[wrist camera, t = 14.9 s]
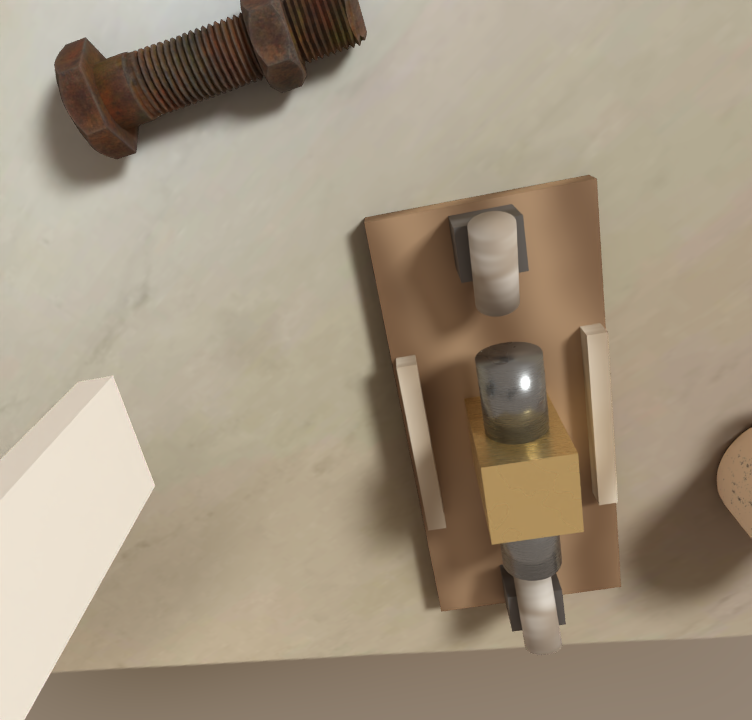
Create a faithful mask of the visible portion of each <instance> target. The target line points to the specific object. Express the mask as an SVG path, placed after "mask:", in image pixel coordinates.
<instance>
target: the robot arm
mask: <svg viewBox="0 0 752 720" xmlns="http://www.w3.org/2000/svg"><path fill="white" fill-rule="evenodd" d="M154 487H155V484H154V482H153V479H152V476H151V474H150V471H149V469H148V466H147V463H146V461H145V458H144V455H143V453H142V450H141V448H140V445H139V442H138V440H137V437H136V435H135V432H134V429H133V427H132V424H131V421H130V419H129V416H128V414H127V411H126V408H125V406H124V403H123V400H122V398H121V395H120V393H119V390H118V387H117V385H116V382H115V380H114V377H113V376H108V377H102V378H96V379H91V380H85V381H79V382H77V383H76V384H75V385H74V386H73V387H72V388H71V389H70V390H69V391H68V392H67V393H66V394H65V395H64V396H63V397H62V398H61V399H60V400H59V401H58V402H57V403H56V404H55V405H54V406H53V407H52V408H51V409H50V410H49V411H48V412H47V413H46V414H45V415H44V416H43V417H42V418H41V419H40V420H39V421H38V422H37V423H36V424H35V425H34V426H33V427H32V428H31V429H30V430H29V431H28V432H27V433H26V434H25V435H24V436H23V437H22V438H21V439H20V440H19V441H18V442H17V443H16V444H15V445H14V446H13V447H12V448H11V449H10V450H9V451H8V452H7V453H6V455H5V456H4V457H3V458H2V459H1V460H0V720H25V718H26V716H27V714H28V713H29V711H30V709H31V707H32V705H33V704H34V702H35V700H36V698H37V697H38V695H39V693H40V691H41V689H42V687H43V686H44V684H45V682H46V680H47V679H48V677H49V675H50V673H51V671H52V670H53V668H54V666H55V664H56V662H57V661H58V659H59V657H60V655H61V654H62V652H63V650H64V648H65V646H66V645H67V643H68V641H69V639H70V637H71V636H72V634H73V632H74V630H75V628H76V627H77V625H78V623H79V621H80V619H81V618H82V616H83V614H84V612H85V610H86V609H87V607H88V605H89V603H90V602H91V600H92V598H93V596H94V594H95V593H96V591H97V589H98V587H99V585H100V584H101V582H102V580H103V578H104V576H105V575H106V573H107V571H108V569H109V567H110V566H111V564H112V562H113V560H114V559H115V557H116V555H117V553H118V551H119V550H120V548H121V546H122V544H123V542H124V541H125V539H126V537H127V535H128V533H129V532H130V530H131V528H132V526H133V524H134V523H135V521H136V519H137V517H138V515H139V514H140V512H141V510H142V508H143V507H144V505H145V503H146V501H147V499H148V498H149V496H150V494H151V492H152V490H153V489H154Z"/></svg>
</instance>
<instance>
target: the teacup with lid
mask: <svg viewBox="0 0 752 720" xmlns="http://www.w3.org/2000/svg"><path fill="white" fill-rule="evenodd" d="M717 488H718V492H719V495H720V498H721V499H722V501H723V503H724V504H725V506H726V507H727V508H728V510H729V511H730V512H731V513H732V515H733V516H734V517H735V518H736V520H737V521H738V522H739V524H740V525H741V526H742V527H743V529H744V530H745V531H746V532H747V534H748V535H749V536H750V537H751V539H752V427H751V428H749V429H748V430H747V431H745V432H744V433H742V434H741V435H740V436H739V437H738V438H737V439H736V440H735V441H734V442H733V443H732V444H731V445H730V446H729V448H728V449H727V451H726V452H725V454H724V456H723V457H722V460H721V462H720V465H719V468H718V472H717Z"/></svg>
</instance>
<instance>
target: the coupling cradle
mask: <svg viewBox="0 0 752 720" xmlns="http://www.w3.org/2000/svg"><path fill="white" fill-rule="evenodd" d="M364 224H365V229H366V234H367V239H368V244H369V249H370V255H371V260H372V265H373V270H374V275H375V280H376V285H377V290H378V295H379V300H380V305H381V310H382V315H383V320H384V325H385V330H386V335H387V340H388V345H389V350H390V355H391V360H392V365H393V370H394V375H395V380H396V385H397V390H398V396H399V401H400V406H401V411H402V416H403V421H404V426H405V431H406V436H407V441H408V446H409V451H410V456H411V461H412V466H413V471H414V476H415V481H416V486H417V491H418V496H419V501H420V506H421V511H422V516H423V521H424V526H425V531H426V537H427V542H428V547H429V552H430V557H431V562H432V567H433V572H434V577H435V582H436V587H437V592H438V597H439V602H440V607H441V611H448V610H456V609H463V608H470V607H477V606H485V605H492V604H499V603H506V606H507V610H508V614H509V619H510V623H511V627H512V631H519V630H522V631H523V637H524V643H525V648H526V650H527V651H529V652H530V653H533V654H538V655H546V654H552V653H554V652H557V651H558V650H560V649H561V647H562V640H561V634H560V628H559V625H564V624H566V623H565V613H564V603H563V595H564V594H572V593H579V592H586V591H593V590H601V589H608V588H615V587H621V579H620V562H619V545H618V529H617V512H616V503H618V497H617V479H616V462H615V445H614V428H613V410H612V393H611V376H610V359H609V341H608V331H607V330H606V326H605V310H604V293H603V276H602V259H601V242H600V225H599V208H598V192H597V179H596V178H594V177H592V176H590V175H586V176H581V177H576V178H570V179H565V180H560V181H555V182H549V183H544V184H539V185H534V186H528V187H523V188H518V189H513V190H507V191H502V192H497V193H492V194H486V195H481V196H476V197H471V198H465V199H460V200H455V201H450V202H444V203H439V204H434V205H429V206H423V207H418V208H413V209H408V210H402V211H397V212H392V213H387V214H381V215H376V216H371V217H366V218H365V221H364ZM505 342H527V343H532V344H535V345H537V346H539V347H540V348H541V349H542V351H543V360H544V371H545V382H546V392H547V394H548V396H549V398H550V400H551V402H552V403H553V405H554V407H555V409H556V411H557V413H558V415H559V417H560V419H561V421H562V423H563V425H564V427H565V429H566V431H567V433H568V435H569V437H570V439H571V441H572V443H573V444H574V446H575V448H576V450H577V452H578V459H579V473H580V486H581V499H582V513H583V526H584V532H579V533H572V534H565V535H560V544H561V555H562V565H561V567H560V569H559V570H558V572H556V573H555V574H554V575H553V576H551V577H549V578H546V579H543V580H538V581H527V580H522V579H518V578H516V577H514V576H512V575H511V574H509V573H508V572H507V571H506V570H505V568H504V566H503V561H502V554H501V546H500V544H493V545H492V543H491V539H490V534H489V530H488V526H487V521H486V517H485V513H484V508H483V504H482V499H481V495H480V491H479V486H478V482H477V478H476V473H475V469H474V464H473V457H472V450H471V444H470V437H469V430H468V423H467V417H466V410H465V403H464V399H465V398H472V397H478V396H480V393H479V386H478V378H477V371H476V364H475V356H476V355H477V353H478V352H480V351H481V350H483V349H484V348H487V347H489V346H492V345H495V344H499V343H505Z"/></svg>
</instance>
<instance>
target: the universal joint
mask: <svg viewBox="0 0 752 720" xmlns="http://www.w3.org/2000/svg"><path fill="white" fill-rule="evenodd" d="M475 364H476V371H477V378H478V386H479V393H480V396H478V397H472V398H465V399H464V403H465V410H466V417H467V423H468V430H469V437H470V444H471V450H472V457H473V464H474V469H475V473H476V478H477V482H478V486H479V491H480V495H481V499H482V504H483V508H484V513H485V517H486V521H487V526H488V530H489V534H490V539H491V543H492V545H493V544H500V546H501V554H502V561H503V566H504V568H505V570H506V571H507V572H508V573H509V574H511V575H512V576H514V577H516V578H518V579H522V580H527V581H538V580H543V579H546V578H549V577H551V576H553V575H554V574H555V573H556V572H558V570H559V569H560V567H561V565H562V555H561V544H560V535H565V534H572V533H579V532H584V526H583V513H582V499H581V486H580V473H579V459H578V452H577V450H576V448H575V446H574V444H573V443H572V441H571V439H570V437H569V435H568V433H567V431H566V429H565V427H564V425H563V423H562V421H561V419H560V417H559V415H558V413H557V411H556V409H555V407H554V405H553V403H552V402H551V400H550V398H549V396H548V394H547V392H546V382H545V371H544V360H543V351H542V349H541V348H540V347H539V346H537V345H535V344H532V343H527V342H505V343H499V344H495V345H492V346H489V347H487V348H484V349H483V350H481V351H480V352H478V353H477V355H476V356H475Z"/></svg>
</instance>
